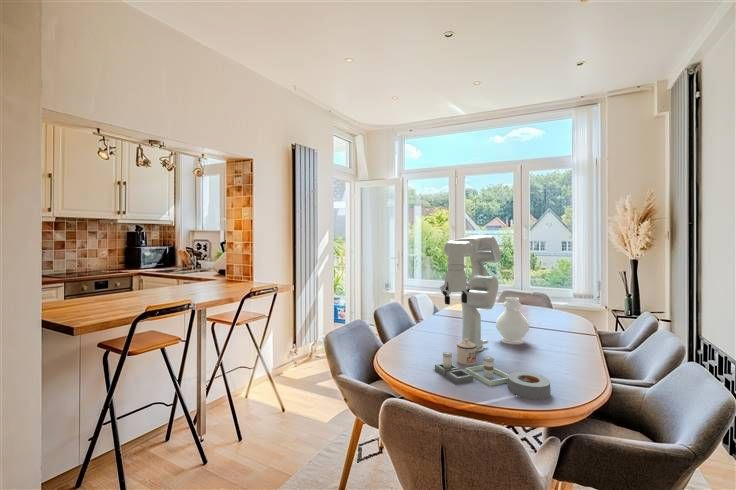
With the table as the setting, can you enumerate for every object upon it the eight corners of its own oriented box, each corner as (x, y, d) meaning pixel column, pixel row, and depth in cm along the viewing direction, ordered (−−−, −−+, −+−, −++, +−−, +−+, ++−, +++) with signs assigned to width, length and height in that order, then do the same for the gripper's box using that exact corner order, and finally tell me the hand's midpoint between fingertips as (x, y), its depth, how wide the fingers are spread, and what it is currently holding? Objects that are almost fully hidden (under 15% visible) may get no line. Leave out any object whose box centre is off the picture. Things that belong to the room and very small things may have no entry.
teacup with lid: (468, 368, 166) (469, 342, 165) (452, 362, 173) (452, 338, 172) (483, 362, 173) (483, 338, 173) (467, 357, 180) (467, 334, 180)
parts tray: (487, 369, 163) (487, 364, 163) (513, 383, 149) (513, 377, 149) (465, 373, 159) (465, 367, 159) (490, 387, 144) (490, 381, 144)
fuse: (448, 369, 162) (448, 351, 162) (453, 372, 159) (453, 354, 158) (440, 370, 161) (440, 352, 161) (445, 373, 157) (446, 355, 157)
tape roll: (518, 380, 152) (518, 368, 152) (556, 391, 141) (556, 378, 141) (500, 391, 141) (500, 378, 141) (540, 404, 130) (540, 390, 130)
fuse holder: (432, 371, 162) (432, 364, 162) (450, 368, 166) (450, 361, 166) (455, 386, 145) (455, 379, 145) (476, 382, 149) (476, 375, 149)
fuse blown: (489, 374, 156) (489, 356, 156) (495, 377, 153) (495, 359, 152) (481, 375, 155) (481, 357, 155) (488, 379, 151) (488, 360, 151)
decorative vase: (513, 335, 219) (513, 294, 218) (536, 343, 202) (536, 299, 201) (489, 338, 212) (489, 296, 212) (511, 347, 196) (511, 301, 195)
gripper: (466, 266, 179) (465, 300, 180) (436, 268, 173) (436, 303, 173) (475, 267, 172) (475, 303, 173) (445, 269, 166) (445, 306, 166)
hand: (455, 303), depth 173 cm, fingers open, 9 cm apart
